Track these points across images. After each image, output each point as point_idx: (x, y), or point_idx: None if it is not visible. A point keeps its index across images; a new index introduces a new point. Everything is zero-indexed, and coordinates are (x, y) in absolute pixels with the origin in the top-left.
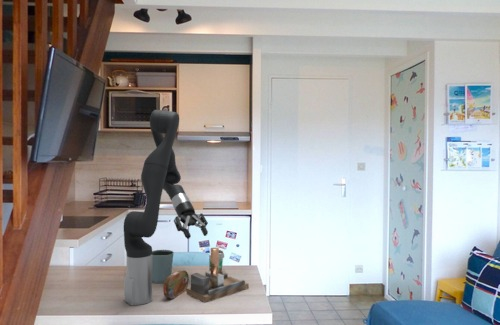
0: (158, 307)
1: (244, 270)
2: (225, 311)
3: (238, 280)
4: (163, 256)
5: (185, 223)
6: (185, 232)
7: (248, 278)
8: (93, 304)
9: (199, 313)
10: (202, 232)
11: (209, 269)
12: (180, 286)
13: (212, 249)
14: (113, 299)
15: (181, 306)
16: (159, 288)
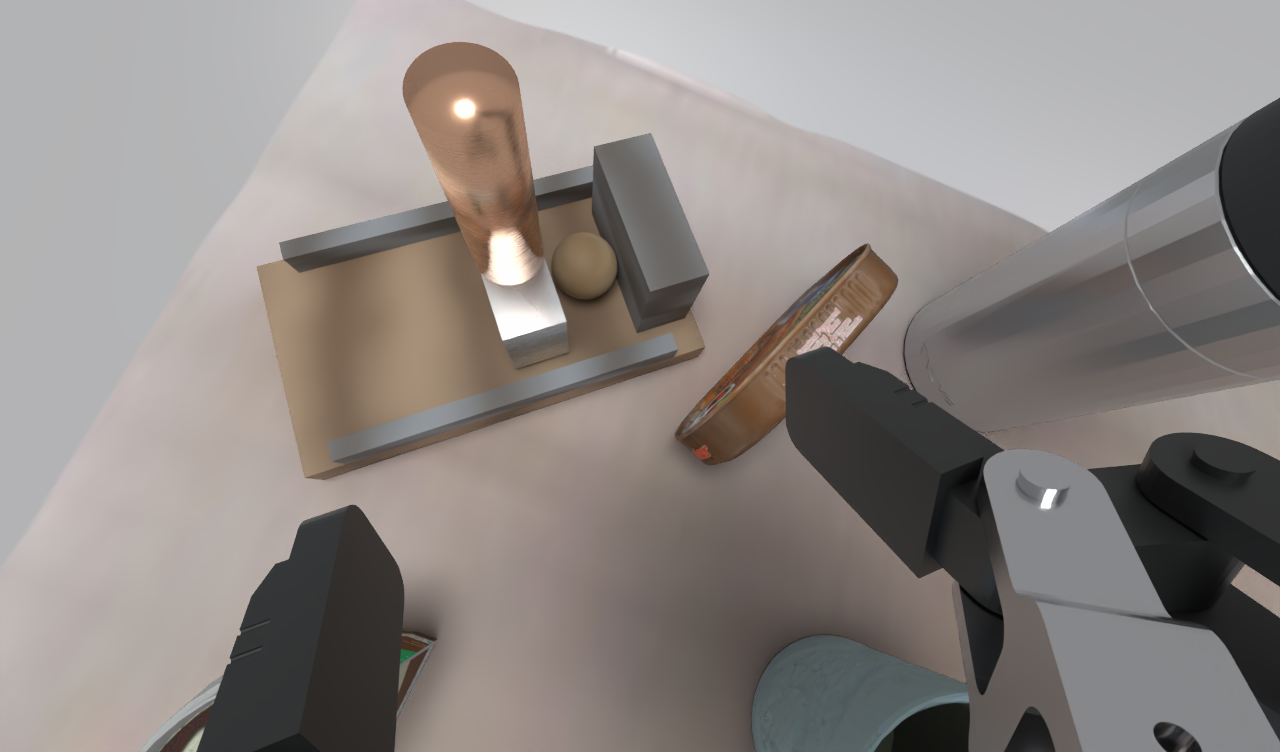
0: (874, 230)
1: (24, 726)
2: (569, 55)
3: (291, 354)
4: (962, 689)
5: (1168, 615)
6: (940, 413)
7: (143, 480)
8: (1193, 403)
9: (694, 88)
10: (395, 682)
11: (419, 650)
12: (746, 368)
13: (506, 63)
14: (1107, 435)
15: (761, 195)
16: (851, 520)
